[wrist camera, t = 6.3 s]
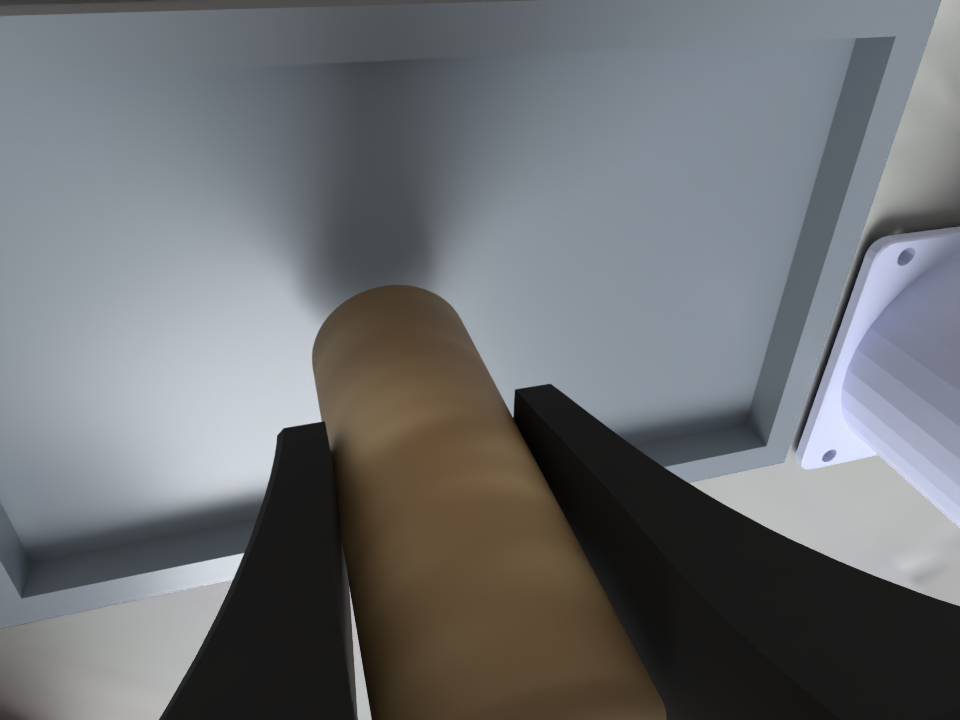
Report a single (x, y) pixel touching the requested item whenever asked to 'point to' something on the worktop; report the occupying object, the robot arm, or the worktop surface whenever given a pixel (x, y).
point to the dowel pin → (458, 533)
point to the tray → (405, 236)
